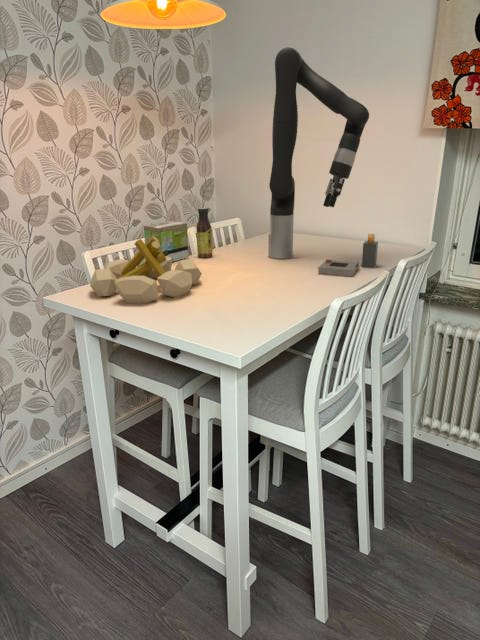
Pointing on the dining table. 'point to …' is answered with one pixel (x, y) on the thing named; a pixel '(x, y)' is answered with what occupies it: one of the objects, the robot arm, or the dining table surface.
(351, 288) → the dining table surface
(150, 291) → the campfire
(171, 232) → the tea box
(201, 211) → the sauce bottle
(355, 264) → the socket
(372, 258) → the plug
